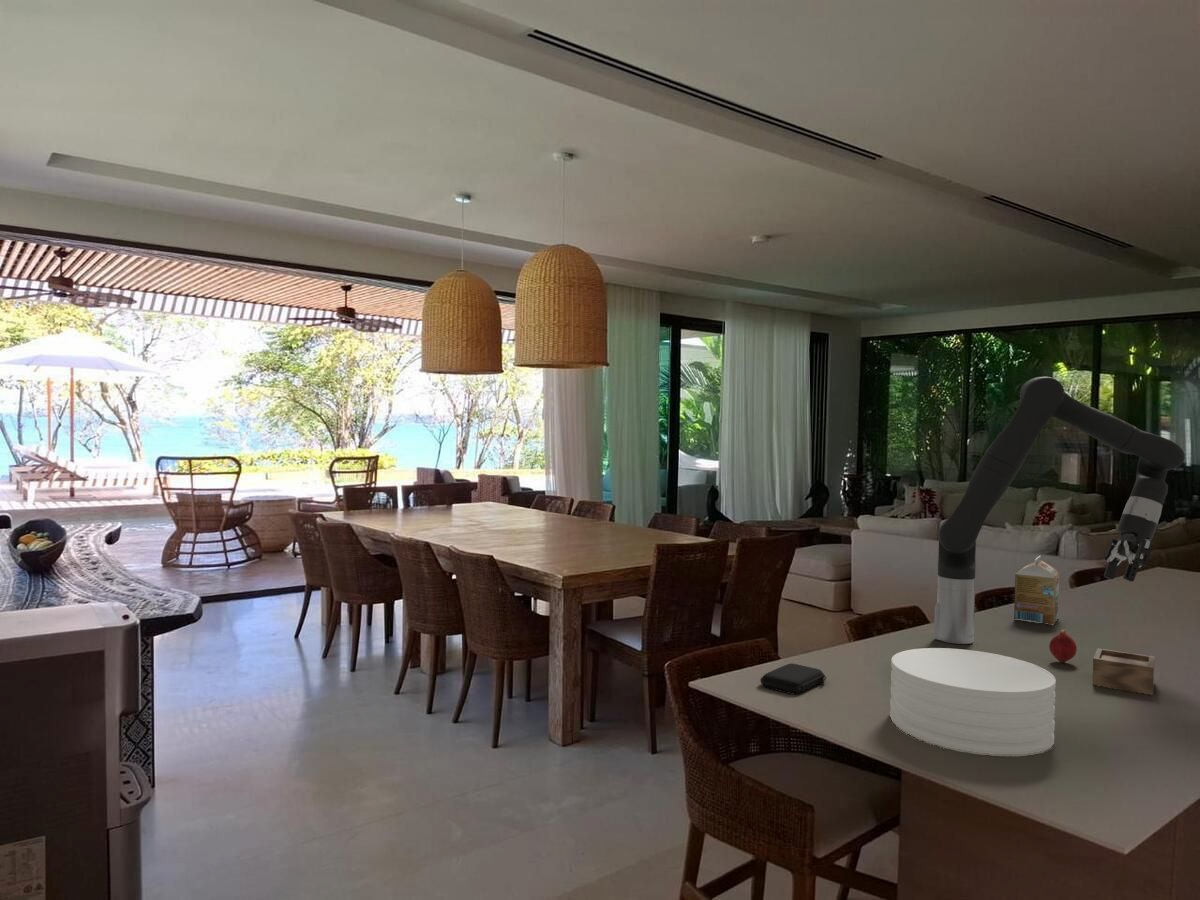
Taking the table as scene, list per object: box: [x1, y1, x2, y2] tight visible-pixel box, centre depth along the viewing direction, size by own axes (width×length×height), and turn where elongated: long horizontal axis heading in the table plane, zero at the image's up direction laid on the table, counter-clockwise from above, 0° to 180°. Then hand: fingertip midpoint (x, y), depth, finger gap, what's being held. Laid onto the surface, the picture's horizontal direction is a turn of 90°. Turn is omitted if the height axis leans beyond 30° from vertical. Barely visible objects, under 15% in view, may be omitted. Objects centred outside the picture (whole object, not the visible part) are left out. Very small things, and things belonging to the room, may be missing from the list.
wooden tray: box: [1092, 647, 1156, 696], centre depth 179 cm, size 11×11×6 cm
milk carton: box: [1013, 555, 1061, 625], centre depth 242 cm, size 11×11×19 cm
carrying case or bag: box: [760, 663, 827, 694], centre depth 175 cm, size 11×3×15 cm
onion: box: [1048, 629, 1078, 664], centre depth 195 cm, size 6×6×8 cm
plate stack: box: [889, 647, 1057, 754], centre depth 150 cm, size 28×28×12 cm
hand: (1117, 579), depth 197 cm, fingers open, 8 cm apart
